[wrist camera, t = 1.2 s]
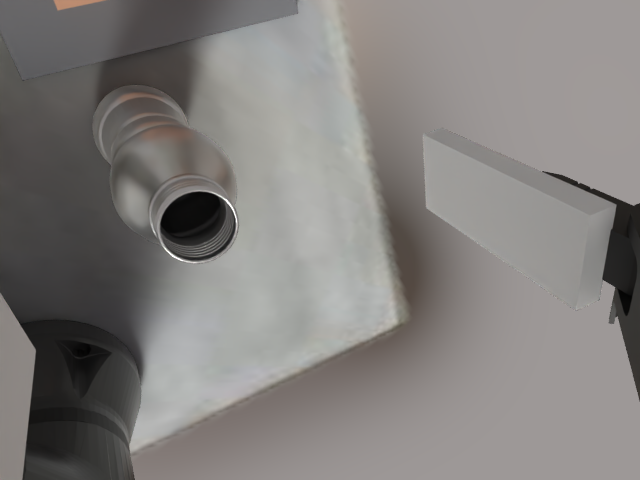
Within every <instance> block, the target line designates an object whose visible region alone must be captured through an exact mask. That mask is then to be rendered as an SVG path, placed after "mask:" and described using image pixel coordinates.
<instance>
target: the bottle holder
mask: <svg viewBox="0 0 640 480" xmlns="http://www.w3.org/2000/svg"><path fill="white" fill-rule="evenodd" d="M294 14H298V9H297V3H296V0H0V33H1V35H2V38H3V40H4V42H5V44H6V46H7V48H8V51H9V53H10V55H11V57H12V59H13V61H14V63H15V66H16V68H17V70H18V72H19V74H20V76H21V79H22V81H24V80H28V79H32V78H36V77H40V76H44V75H48V74H52V73H57V72H61V71H65V70H69V69H73V68H77V67H81V66H85V65H89V64H93V63H97V62H102V61H106V60H110V59H114V58H118V57H122V56H126V55H130V54H134V53H138V52H143V51H147V50H151V49H155V48H159V47H163V46H167V45H171V44H175V43H179V42H183V41H188V40H192V39H196V38H200V37H204V36H208V35H212V34H216V33H220V32H224V31H229V30H233V29H237V28H241V27H245V26H249V25H253V24H257V23H261V22H265V21H270V20H274V19H278V18H282V17H286V16H290V15H294Z"/></svg>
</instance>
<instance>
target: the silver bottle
mask: <svg viewBox="0 0 640 480" xmlns="http://www.w3.org/2000/svg"><path fill="white" fill-rule="evenodd" d="M92 132H93V137H94V141H95V143H96V146H97V148H98V150H99V151H100V153H101V154H102V156H103V157H104V158H105V159H106V161H107V162H108V163H109V164H110V165H111V171H110V191H111V196H112V201H113V204H114V206H115V209H116V211H117V213H118V215H119V216H120V217H121V219H122V220H123V222H124V223H125V224H126V225H127V226H128V227H129V228H130V229H132V230H133V231H134V232H135V233H137V234H139V235H140V236H142V237H143V238H145V239H147V240H148V241H151V242H153V243H156V244H158V245H161V246H162V247H163V249H164V250H165V251H166V252H167V253H168V254H169V255H171V256H172V257H174V258H175V259H177V260H180V261H182V262H186V263H191V264H200V263H206V262H209V261H212V260H215V259H217V258H218V257H220V256H222V255H223V254H224V253H225V252H227V251H228V249H229V248H230V247H231V246H232V244H233V243H234V241H235V239H236V236H237V233H238V228H239V221H238V215H237V212H236V209H235V204H236V198H237V185H236V176H235V172H234V169H233V165H232V163H231V162H230V160H229V158H228V156H227V155H226V153H225V152H224V151H223V150H222V148H221V147H220V146H219V145H218V144H216V143H215V142H214V141H213V140H212V139H210V138H209V137H207V136H206V135H204V134H203V133H201V132H199V131H197V130H195V129H192V128H190V127H189V125H188V121H187V119H186V116H185V114H184V113H183V111H182V109H181V108H180V106H179V105H178V104H177V103H176V101H175V100H173V99H172V98H171V97H170V96H169V95H167V94H166V93H164V92H162V91H161V90H158V89H156V88H153V87H150V86H144V85H127V86H123V87H119V88H117V89H115V90H113V91H111V92H110V93H109V94H108V95H106V96H105V97H104V99H103V100H102V101H101V102H100V103H99V105H98V107H97V109H96V111H95V113H94V117H93V122H92Z"/></svg>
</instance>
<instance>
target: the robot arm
mask: <svg viewBox="0 0 640 480" xmlns="http://www.w3.org/2000/svg"><path fill="white" fill-rule="evenodd" d="M423 151H424V171H425V193H426V208H427V209H429V210H430V211H432V212H433V213H434V214H436V215H437V216H439V217H440V218H442V219H443V220H444V221H446V222H447V223H449V224H450V225H452V226H453V227H455V228H456V229H458V230H459V231H460V232H462V233H463V234H465V235H466V236H468V237H469V238H471V239H472V240H473V241H475V242H476V243H478V244H479V245H481V246H482V247H484V248H485V249H487V250H488V251H490V252H491V253H492V254H494V255H495V256H497V257H498V258H500V259H501V260H503V261H504V262H505V263H507V264H508V265H510V266H511V267H513V268H514V269H515V270H517V271H519V272H520V273H521V274H523V275H524V276H526V277H527V278H528V279H530V280H531V281H533V282H534V283H536V284H537V285H539V286H540V287H541V288H543V289H545V290H546V291H547V292H549V293H550V294H552V295H553V296H555V297H556V298H557V299H559V300H560V301H562V302H563V303H565V304H566V305H568V306H569V307H570V308H572V309H573V310H575V311H578V310H580V309H581V308H584V307H586V306H588V305H590V304H592V303H594V302H597V301H599V300H600V295H601V288H602V283H603V280H604V281H606V282H608V283H609V284H611V285H613V286H614V287H615V292H614V297H613V302H612V307H611V312H610V317H609V323H610V324H614V321H615V317H617V316H618V319H619V323H620V327H621V331H622V335H623V339H624V342H625V346H626V350H627V354H628V358H629V361H630V365H631V369H632V373H633V377H634V381H635V385H636V388H637V392H638V396H639V400H640V203H639V204H636V205H635V206H633V205H630V204H628V203H626V202H623V201H621V200H619V199H616V198H614V197H611V196H609V195H607V194H605V193H602V192H600V191H598V190H596V189H590V187H588V186H586V185H584V184H581V183H580V184H578V182H577V181H574V180H572V179H570V178H568V177H565V176H563V175H559V174H554V173H549V172H544V171H542V172H541V171H539V170H537V169H535V168H532V167H530V166H528V165H525V164H523V163H521V162H519V161H516V160H514V159H512V158H510V157H507V156H505V155H503V154H501V153H498V152H496V151H493V150H491V149H489V148H487V147H485V146H482V145H480V144H478V143H476V142H473V141H471V140H468V139H467V138H464V137H462V136H460V135H458V134H455V133H453V132H451V131H448V130H446V129H444V128H441V129H437V130H434V131H431V132H428V133H425V134H423ZM140 404H141V383H140V378H139V374H138V369H137V365H136V362H135V360H134V358H133V356H132V354H131V353H130V351H129V350H128V349H127V348H126V346H125V345H124V344H123V343H122V342H121V341H119V340H118V339H117V338H116V337H114V336H113V335H111V334H109V333H108V332H106V331H104V330H102V329H99V328H97V327H94V326H91V325H88V324H84V323H79V322H73V321H61V320H50V321H38V322H32V323H26V324H22V325H20V324H19V322H18V320H17V319H16V317H15V316H14V314H13V312H12V311H11V309H10V308H9V306H8V304H7V303H6V301H5V299H4V298H3V296H2V295H1V293H0V480H135V478H134V472H133V467H132V461H131V457H130V450H129V444H130V441H131V437H132V433H133V430H134V426H135V423H136V419H137V415H138V412H139V408H140Z"/></svg>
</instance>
